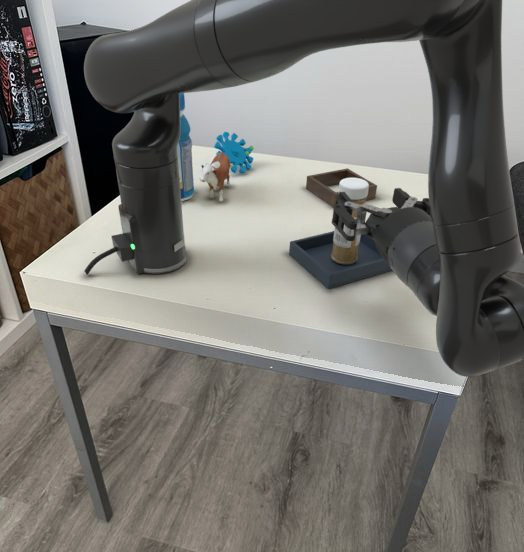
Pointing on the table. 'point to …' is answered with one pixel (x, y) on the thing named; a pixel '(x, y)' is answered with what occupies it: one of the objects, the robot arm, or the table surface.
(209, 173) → the bull figurine
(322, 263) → the tray
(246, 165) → the blue virus toy
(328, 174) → the open box
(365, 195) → the sprinkles bottle
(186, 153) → the beverage bottle
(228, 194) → the table surface
